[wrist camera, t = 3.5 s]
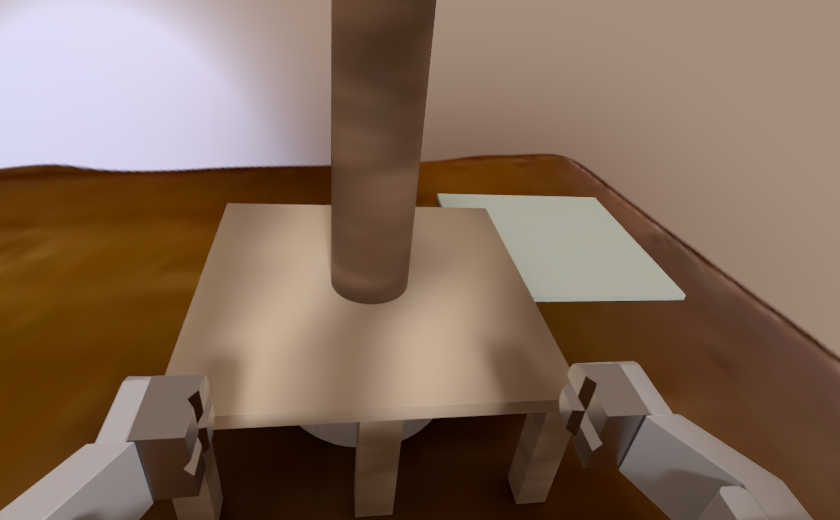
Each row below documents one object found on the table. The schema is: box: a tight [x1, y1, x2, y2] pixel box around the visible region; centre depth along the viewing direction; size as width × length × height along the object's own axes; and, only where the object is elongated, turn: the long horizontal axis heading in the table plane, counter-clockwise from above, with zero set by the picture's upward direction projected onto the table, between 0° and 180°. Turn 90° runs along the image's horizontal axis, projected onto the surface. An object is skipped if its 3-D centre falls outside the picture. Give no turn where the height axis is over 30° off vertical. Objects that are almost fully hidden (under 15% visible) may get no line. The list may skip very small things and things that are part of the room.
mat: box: [437, 194, 686, 302], centre depth 38 cm, size 14×14×1 cm
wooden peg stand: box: [165, 0, 572, 520], centre depth 20 cm, size 14×14×17 cm
